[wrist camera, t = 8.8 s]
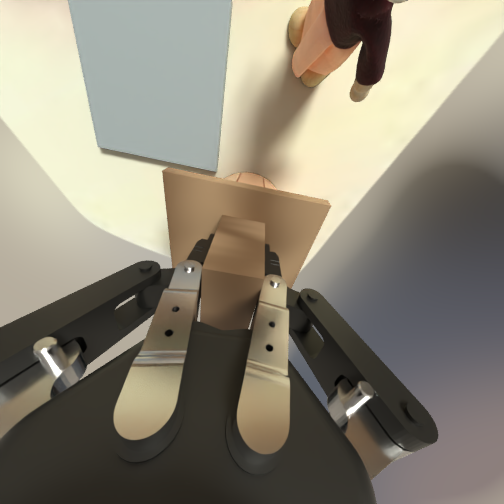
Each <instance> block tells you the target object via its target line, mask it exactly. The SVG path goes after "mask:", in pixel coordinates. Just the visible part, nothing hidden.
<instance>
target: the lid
mask: <svg viewBox="0 0 504 504" xmlns="http://www.w3.org/2000/svg"><path fill="white" fill-rule="evenodd" d="M162 173H163V182H164V192H165V201H166V211H167V220H168V230H169V239H170V249H171V258H172V268H176V266H177V264H178V263H180V262H181V261H185V260H186V259H187V258H188V256H189V254H190V253H191V251H192V250H193V248H194V246H195V244H196V243H197V241H199V240H201V239H207V240H208V238H209V236H210V234H211V233H212V234H215V236H214V238H213V241H212V243H211V246H210V249H209V251H208V254H207V256H206V259H205V261H204V264H203V267H202V281H201V317H200V322H203V323H205V324H208V325H210V326H213V327H215V328H218V329H220V330H234V329H248V327H249V324H250V321H251V318H252V315H253V312H254V309H255V306H256V303H257V300H258V297H259V294H260V291H261V288H262V285H263V282H264V279H265V244H269V246H270V251H271V252H275V253H276V254H277V255H278V257H279V262H280V268H281V275H282V278H283V279H284V280H285V281H286V283H287V287H289V288H290V289H291V288H292V286H293V284H294V282H295V280H296V278H297V276H298V273H299V271H300V269H301V267H302V265H303V263H304V261H305V259H306V257H307V255H308V253H309V251H310V249H311V247H312V245H313V242H314V240H315V238H316V236H317V234H318V232H319V230H320V228H321V226H322V224H323V222H324V220H325V218H326V216H327V213H328V211H329V209H330V207H331V205H330V203H329V202H328V201H327V200H323V199H318V198H313V197H308V196H303V195H299V194H294V193H289V192H284V191H279V190H275V189H270V188H265V187H260V186H256V185H251V184H246V183H241V182H236V181H232V180H227V179H222V178H217V177H212V176H208V175H203V174H198V173H193V172H188V171H184V170H179V169H174V168H169V167H168V168H166V169H165V170H163V171H162Z"/></svg>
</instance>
